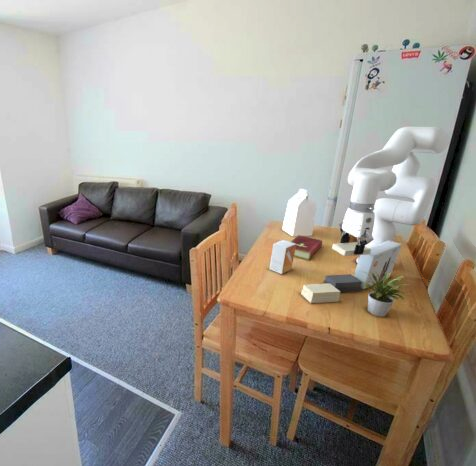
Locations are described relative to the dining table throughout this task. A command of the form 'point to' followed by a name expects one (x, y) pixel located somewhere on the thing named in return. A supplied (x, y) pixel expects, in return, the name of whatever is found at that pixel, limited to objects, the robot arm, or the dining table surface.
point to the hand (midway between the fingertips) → (350, 249)
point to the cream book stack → (320, 293)
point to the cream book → (349, 249)
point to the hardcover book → (306, 246)
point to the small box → (282, 256)
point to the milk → (300, 215)
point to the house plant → (382, 295)
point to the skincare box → (377, 262)
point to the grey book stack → (344, 282)
